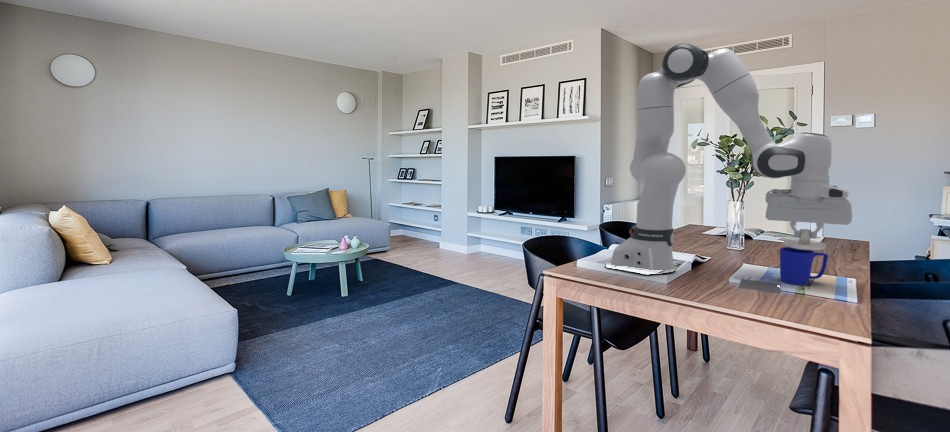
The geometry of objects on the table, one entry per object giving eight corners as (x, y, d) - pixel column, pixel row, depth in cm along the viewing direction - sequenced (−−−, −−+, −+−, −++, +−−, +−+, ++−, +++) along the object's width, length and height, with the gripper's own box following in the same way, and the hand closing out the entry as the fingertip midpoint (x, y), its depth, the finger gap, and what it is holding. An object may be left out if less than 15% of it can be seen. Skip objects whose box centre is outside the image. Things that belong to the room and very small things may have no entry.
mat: (738, 288, 132) (738, 287, 132) (741, 280, 140) (741, 278, 140) (779, 294, 126) (779, 292, 126) (780, 285, 135) (780, 283, 135)
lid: (783, 247, 133) (784, 231, 132) (784, 240, 141) (785, 225, 140) (826, 251, 128) (828, 234, 127) (824, 244, 136) (826, 228, 135)
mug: (832, 288, 131) (835, 253, 129) (784, 286, 133) (787, 252, 132) (817, 280, 139) (820, 247, 137) (772, 278, 141) (775, 246, 140)
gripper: (765, 189, 135) (762, 236, 137) (855, 192, 124) (850, 242, 126) (766, 187, 140) (763, 232, 142) (853, 190, 129) (848, 238, 131)
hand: (804, 237), depth 134 cm, fingers closed on lid, 2 cm apart
